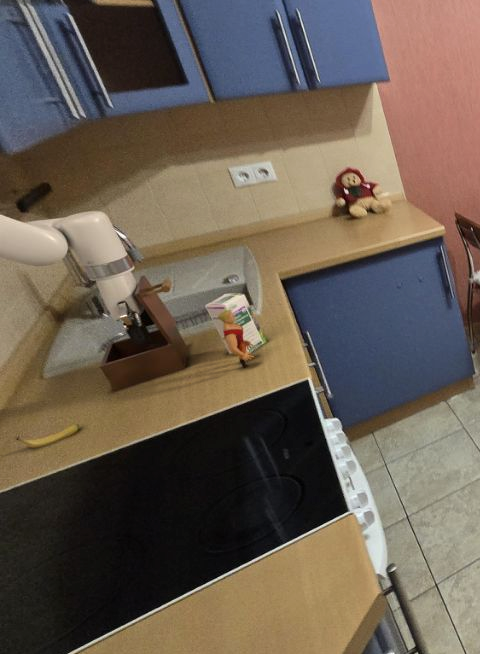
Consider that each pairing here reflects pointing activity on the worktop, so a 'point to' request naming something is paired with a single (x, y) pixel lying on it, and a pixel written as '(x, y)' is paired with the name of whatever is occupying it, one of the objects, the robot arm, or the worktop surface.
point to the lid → (156, 306)
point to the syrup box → (237, 318)
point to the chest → (143, 359)
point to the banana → (49, 437)
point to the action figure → (235, 337)
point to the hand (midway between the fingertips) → (145, 333)
